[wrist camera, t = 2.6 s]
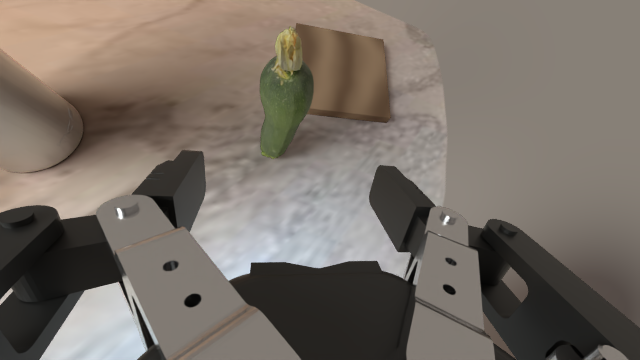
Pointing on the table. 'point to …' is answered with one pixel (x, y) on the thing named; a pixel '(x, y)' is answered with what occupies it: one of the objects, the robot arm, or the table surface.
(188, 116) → the table surface
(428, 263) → the robot arm
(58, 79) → the table surface
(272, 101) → the vegetable
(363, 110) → the cutting board
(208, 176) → the table surface
